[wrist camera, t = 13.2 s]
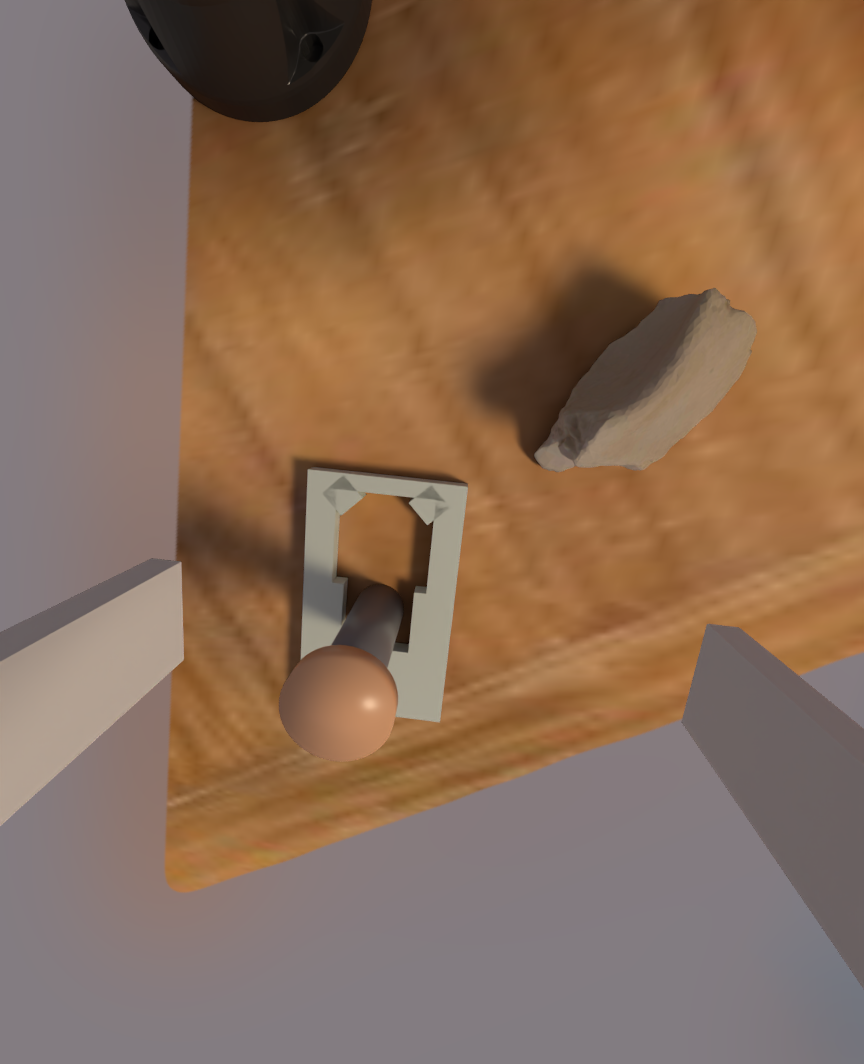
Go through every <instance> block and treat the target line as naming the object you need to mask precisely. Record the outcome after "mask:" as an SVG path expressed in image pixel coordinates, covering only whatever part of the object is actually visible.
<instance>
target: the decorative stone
mask: <svg viewBox="0 0 864 1064" xmlns="http://www.w3.org/2000/svg"><path fill="white" fill-rule="evenodd" d="M756 333H757V329H756V324H755V321H754V319H753V318H752V316H750V315H749V314H748V313H746V312H745V311H742V310H737V309H734V308H732V307H731V306H730V300H728V299H726V297H725V296H723V295H722V294H720V292H719V291H718V290H717V289H716V288H713V289H709V290H706V291H704V292H703V293H702V294H698V295H696V294H688V295H684V296H681V297H673V298H665V299H663V300H660V301H659V302H658V305H657V306H656V308H655V309H654V311H653V312H651V313H650V314H649V315H648V316H647V317H646V318H644V319H643V320H641V322H640V324H639V325H638V326H637V327H636V328H634V329H633V330H631V331H630V332H629V333H627V334H626V335H625V336H624V337H622V338H619V339H617V340H616V341H614V342H612V343H610V345H609V346H608V347H607V349H606V350H604V352H603V353H602V354H601V355H600V356H599V358H598V359H597V360H596V362H595V363H594V364H593V365H592V367H591V368H590V370H589V371H588V372H587V373H586V374H585V375H584V376H583V377H582V378H581V379H580V380H579V382H578V383H577V385H576V386H575V387H574V388H573V390H572V393H571V396H570V398H569V400H568V401H567V403H566V405H565V407H564V408H562V409H561V411H560V413H559V419H558V420H557V422H556V423H555V424H554V425H553V427H552V428H551V433H550V435H549V437H548V439H547V440H546V441H544V442H543V444H542V445H541V446H540V447H539V449H538V450H537V451H536V452H535V453H534V456H535V459H536V460H537V462H538V463H539V464H540V466H541V467H542V468H544V469H547V470H549V471H555V472H561V471H564V470H566V469H569V468H572V467H574V466H577V467H597V466H612V465H614V466H624V467H626V468H628V469H631V470H643V469H645V468H647V467H648V466H649V465H650V464H651V463H653V462H655V461H657V460H659V459H661V458H662V457H663V456H664V455H665V454H666V453H667V451H668V450H669V449H670V448H671V447H672V446H673V445H674V444H675V443H676V442H678V441H679V440H680V439H682V438H683V437H684V436H686V435H687V433H688V432H689V431H690V430H691V429H692V428H693V427H695V426H696V425H697V424H698V423H699V422H700V421H701V420H702V419H703V418H705V417H706V416H707V415H708V414H709V413H710V412H712V411H713V409H714V408H715V407H716V405H717V404H718V403H719V401H721V400H722V399H723V397H724V396H725V395H726V393H727V392H728V391H729V389H730V388H731V387H732V386H733V384H734V383H735V382H736V381H737V380H738V379H739V377H740V376H741V374H742V372H743V370H744V368H745V366H746V363H747V360H748V358H749V356H750V354H751V353H752V351H751V350H750V348H751V346H752V344H753V342H754V339H755V336H756Z"/></svg>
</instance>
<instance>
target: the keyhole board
mask: <svg viewBox="0 0 864 1064" xmlns="http://www.w3.org/2000/svg"><path fill="white" fill-rule="evenodd" d="M467 491H468V484H465V483H456V482H447V481H438V480H429V479H420V478H411V477H402V476H392V475H383V474H374V473H365V472H356V471H347V470H338V469H329V468H319V467H312V468H310V469H308V478H307V504H306V531H305V557H304V584H303V610H302V637H301V659H302V658H303V657H305V656H306V655H307V654H309V653H310V652H312V651H314V650H316V649H318V648H322V647H325V646H330V645H332V643H333V641H334V639H335V638H336V636H337V634H338V632H339V630H340V629H341V627H342V625H343V623H344V621H345V617H346V601H347V585H348V578H346V577H337V558H338V539H339V521H340V515H343V514H344V513H345V512H346V511H347V510H349V509H350V508H351V507H352V506H353V505H355V504H356V503H357V502H358V501H360V500H361V499H362V498H363V497H364V496H365V495H366V493H365V492H368V493H377V494H386V495H395V496H404V497H413V498H412V499H411V500H410V502H409V504H410V505H411V506H412V508H413V509H414V510H415V511H416V512H417V514H418V515H419V516H420V517H421V518H422V520H423V521H424V522H425V523H426V524H427V525H428V524H430V523H431V522H432V521H434V523H433V533H432V542H431V552H430V562H429V571H428V581H427V587H422V586H416V587H415V591H414V599H413V609H412V619H411V630H410V640H409V644H403V643H395V644H394V647H393V651H392V654H391V658H390V661H389V664H388V668H387V669H388V670H389V671H390V673H391V675H392V676H393V678H394V681H395V683H396V687H397V691H398V706H397V711H396V716H395V717H403V718H411V719H419V720H427V721H434V722H440V716H441V708H442V700H443V691H444V683H445V675H446V666H447V658H448V649H449V641H450V633H451V624H452V616H453V608H454V599H455V591H456V583H457V574H458V566H459V557H460V549H461V541H462V532H463V524H464V516H465V507H466V499H467Z"/></svg>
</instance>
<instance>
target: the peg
mask: <svg viewBox="0 0 864 1064" xmlns="http://www.w3.org/2000/svg"><path fill="white" fill-rule="evenodd" d="M403 614H404V603H403V600H402V598H401V596H400V595H399V593H398V592H397V591H396V590H394V589H393V588H391V587H389V586H386V585H379V584H378V585H372V586H369V587H367V588H366V589H364V590H363V591H362V592H361V593H360V595H359V596H358V598H357V600H356V602H355V604H354V605H353V607H352V609H351V611H350V612H349V614H348V616H347V618H346V620H345V621H344V623H343V625H342V627H341V629H340V630H339V632H338V634H337V636H336V638H335V639H334V641H333V643H332V645H330V646H325V647H322V648H318V649H316V650H314V651H312V652H310V653H309V654H307V655H306V656H305V657H303V658H302V659H301V660H300V661H299V662H298V664H297V665H296V666H295V668H294V669H293V671H292V673H291V674H290V676H289V677H288V679H287V680H286V682H285V683H284V685H283V688H282V690H281V694H280V698H279V712H280V717H281V720H282V723H283V725H284V727H285V729H286V731H287V733H288V734H289V736H290V737H291V738H292V739H293V740H294V742H296V743H297V744H298V745H299V746H300V747H301V748H303V749H304V750H305V751H307V752H309V753H311V754H312V755H315V756H317V757H319V758H323V759H326V760H331V761H353V760H357V759H361V758H364V757H366V756H368V755H370V754H372V753H374V752H375V751H376V750H378V749H379V748H380V747H381V746H382V745H383V744H384V743H385V741H386V740H387V739H388V737H389V735H390V733H391V731H392V728H393V725H394V720H395V716H396V711H397V706H398V691H397V687H396V683H395V681H394V678H393V676H392V675H391V673H390V671H389V670H388V669H387V668H388V664H389V661H390V658H391V654H392V651H393V647H394V644H395V641H396V637H397V634H398V631H399V627H400V624H401V620H402V617H403Z"/></svg>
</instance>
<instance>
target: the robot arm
mask: <svg viewBox="0 0 864 1064" xmlns="http://www.w3.org/2000/svg"><path fill="white" fill-rule="evenodd" d="M125 2H126V5H127V7H128V9H129V11H130V14H131V16H132V18H133V20H134V22H135V24H136V26H137V28H138V30H139V32H140V33H141V35H142V36H143V38H144V40H145V41H146V43H147V45H148V46H149V47H150V49H151V50H152V52H153V53H154V54H155V56H156V57H157V58H158V59H159V61H160V62H161V63H162V64H163V65H164V66H165V67H166V69H167V70H168V71H169V72H170V73H171V74H172V76H173V77H175V79H176V80H177V81H178V82H179V83H180V84H181V86H182V87H183V88H184V89H186V90H187V91H188V92H189V93H190V94H191V95H192V96H193V97H195V98H196V99H197V100H198V101H200V102H201V103H203V104H204V105H206V106H207V107H209V108H211V109H212V110H214V111H216V112H218V113H221V114H223V115H226V116H228V117H232V118H235V119H239V120H244V121H251V122H269V121H276V120H281V119H285V118H288V117H291V116H294V115H296V114H299V113H301V112H303V111H305V110H307V109H309V108H310V107H312V106H313V105H315V104H316V103H318V102H319V101H320V100H321V99H323V98H324V97H325V96H326V95H327V94H328V93H329V92H330V91H331V90H332V89H333V88H334V87H335V86H336V85H337V84H338V83H339V81H340V80H341V79H342V78H343V76H344V75H345V73H346V72H347V70H348V69H349V67H350V65H351V64H352V62H353V60H354V58H355V56H356V54H357V52H358V50H359V48H360V45H361V43H362V40H363V37H364V34H365V31H366V28H367V24H368V20H369V15H370V10H371V3H372V0H125ZM183 660H184V645H183V609H182V572H181V562H179V561H171V560H162V559H153V558H152V559H149V560H147V561H145V562H143V563H141V564H139V565H137V566H135V567H133V568H131V569H129V570H127V571H125V572H123V573H121V574H119V575H117V576H114V577H112V578H110V579H108V580H106V581H104V582H102V583H100V584H98V585H96V586H94V587H92V588H90V589H88V590H86V591H84V592H82V593H80V594H78V595H76V596H74V597H72V598H70V599H68V600H65V601H63V602H61V603H59V604H57V605H55V606H53V607H51V608H49V609H47V610H45V611H43V612H41V613H39V614H37V615H35V616H33V617H31V618H29V619H27V620H25V621H22V622H20V623H18V624H16V625H14V626H12V627H10V628H8V629H6V630H4V631H2V632H0V826H1V825H2V824H3V823H4V822H5V821H6V820H7V819H9V818H10V817H11V816H12V815H13V814H14V813H15V812H16V811H17V810H18V809H20V808H21V807H22V806H23V805H24V804H25V803H26V802H27V801H28V800H30V799H31V798H32V796H34V795H35V794H36V793H37V792H38V791H39V790H40V789H42V788H43V787H44V786H45V785H46V784H47V783H48V782H49V781H50V780H52V779H53V778H54V777H55V776H56V775H57V774H58V773H59V772H60V771H62V769H64V768H65V767H66V766H67V765H68V764H69V763H70V762H71V761H73V760H74V759H75V758H76V757H77V756H78V755H79V754H80V753H81V752H83V751H84V750H85V749H86V748H87V747H88V746H89V745H90V744H91V743H92V742H94V741H95V740H96V739H97V738H98V737H99V736H100V735H101V734H102V733H104V732H105V731H106V730H107V729H108V728H109V727H110V726H111V725H112V724H113V723H114V722H116V721H117V720H118V719H119V718H120V717H121V716H122V715H123V714H124V713H125V712H127V711H128V710H129V709H130V708H131V707H132V706H133V705H134V704H135V703H137V702H138V701H139V700H140V699H141V698H142V697H143V696H144V695H145V694H147V693H148V692H149V691H150V690H151V689H152V688H153V687H154V686H155V685H156V684H157V683H159V682H160V681H161V680H162V679H163V678H164V677H165V676H166V675H168V674H169V673H170V672H171V671H172V670H173V669H174V668H175V667H176V666H178V665H179V664H180V663H181V662H182V661H183ZM682 723H683V725H684V726H685V728H686V729H687V731H688V732H689V734H690V735H691V737H692V738H693V739H694V741H695V742H696V744H697V745H698V747H699V748H700V750H701V751H702V753H703V754H704V756H705V757H706V759H707V760H708V762H709V763H710V764H711V766H712V767H713V769H714V770H715V772H716V773H717V775H718V776H719V777H720V779H721V781H722V782H723V783H724V785H725V786H726V788H727V789H728V791H729V792H730V794H731V795H732V797H733V798H734V800H735V801H736V803H737V804H738V805H739V807H740V808H741V810H742V811H743V813H744V814H745V816H746V817H747V819H748V820H749V822H750V823H751V824H752V826H753V827H754V829H755V830H756V832H757V833H758V835H759V836H760V838H761V839H762V841H763V842H764V844H765V845H766V846H767V848H768V849H769V851H770V852H771V854H772V855H773V857H774V858H775V859H776V861H777V863H778V864H779V866H780V867H781V869H782V870H783V871H784V873H785V874H786V876H787V877H788V879H789V880H790V882H791V883H792V885H793V886H794V887H795V889H796V890H797V892H798V893H799V895H800V896H801V898H802V899H803V901H804V902H805V904H806V905H807V907H808V908H809V910H810V911H811V912H812V914H813V915H814V917H815V918H816V920H817V921H818V923H819V924H820V926H821V927H822V929H823V930H824V931H825V933H826V934H827V936H828V937H829V939H830V940H831V942H832V943H833V945H834V946H835V948H836V949H837V950H838V952H839V953H840V955H841V956H842V958H843V959H844V961H845V962H846V964H847V965H848V967H849V968H850V970H851V971H852V973H853V974H854V975H855V977H856V978H857V980H858V981H859V983H860V984H861V986H862V987H863V988H864V729H863V728H862V727H861V726H860V725H858V724H857V723H856V722H855V721H853V720H852V719H851V718H850V717H849V716H847V715H846V714H845V713H844V712H842V711H841V710H840V709H839V708H838V707H836V706H835V705H834V704H832V703H831V702H830V701H829V700H828V699H826V698H825V697H824V696H823V695H822V694H820V693H819V692H818V691H817V690H815V689H814V688H813V687H812V686H810V685H809V684H808V683H806V682H805V681H804V680H803V679H802V678H801V677H799V676H798V675H797V674H796V673H794V672H793V671H792V670H791V669H790V668H788V667H787V666H786V665H785V664H783V663H782V662H781V661H780V660H778V659H777V658H776V657H775V656H774V655H772V654H771V653H770V652H769V651H767V650H766V649H765V648H764V647H762V646H761V645H760V644H759V643H758V642H756V641H755V640H754V639H753V638H751V637H750V636H749V635H748V634H746V633H745V632H744V631H743V630H742V629H740V628H739V627H730V626H722V625H713V624H707V626H706V630H705V634H704V638H703V642H702V645H701V649H700V653H699V657H698V661H697V665H696V669H695V672H694V676H693V680H692V684H691V688H690V692H689V696H688V699H687V703H686V707H685V711H684V715H683V719H682Z"/></svg>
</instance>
